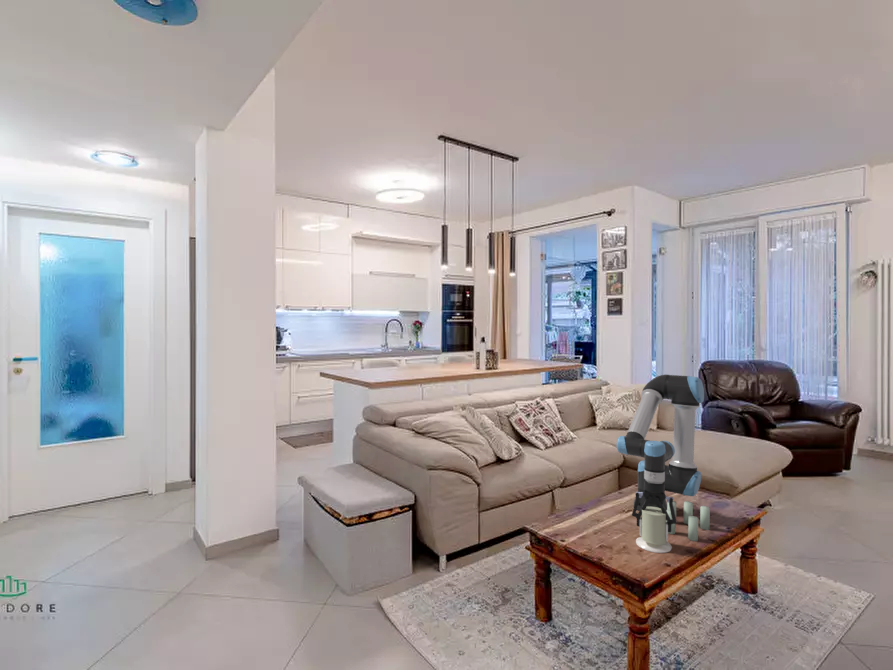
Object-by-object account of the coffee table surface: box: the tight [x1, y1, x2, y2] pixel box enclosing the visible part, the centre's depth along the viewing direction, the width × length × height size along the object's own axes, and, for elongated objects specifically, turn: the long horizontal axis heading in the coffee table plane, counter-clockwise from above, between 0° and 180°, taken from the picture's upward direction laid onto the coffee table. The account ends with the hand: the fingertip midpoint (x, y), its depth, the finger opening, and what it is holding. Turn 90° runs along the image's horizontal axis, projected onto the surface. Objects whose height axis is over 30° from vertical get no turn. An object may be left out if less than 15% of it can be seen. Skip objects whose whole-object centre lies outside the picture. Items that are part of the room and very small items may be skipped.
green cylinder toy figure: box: [640, 506, 666, 545], centre depth 186 cm, size 9×9×12 cm
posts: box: [666, 500, 711, 542], centre depth 200 cm, size 17×21×9 cm
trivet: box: [635, 536, 673, 554], centre depth 186 cm, size 13×13×1 cm
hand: (653, 537), depth 186 cm, fingers closed on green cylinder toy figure, 9 cm apart
